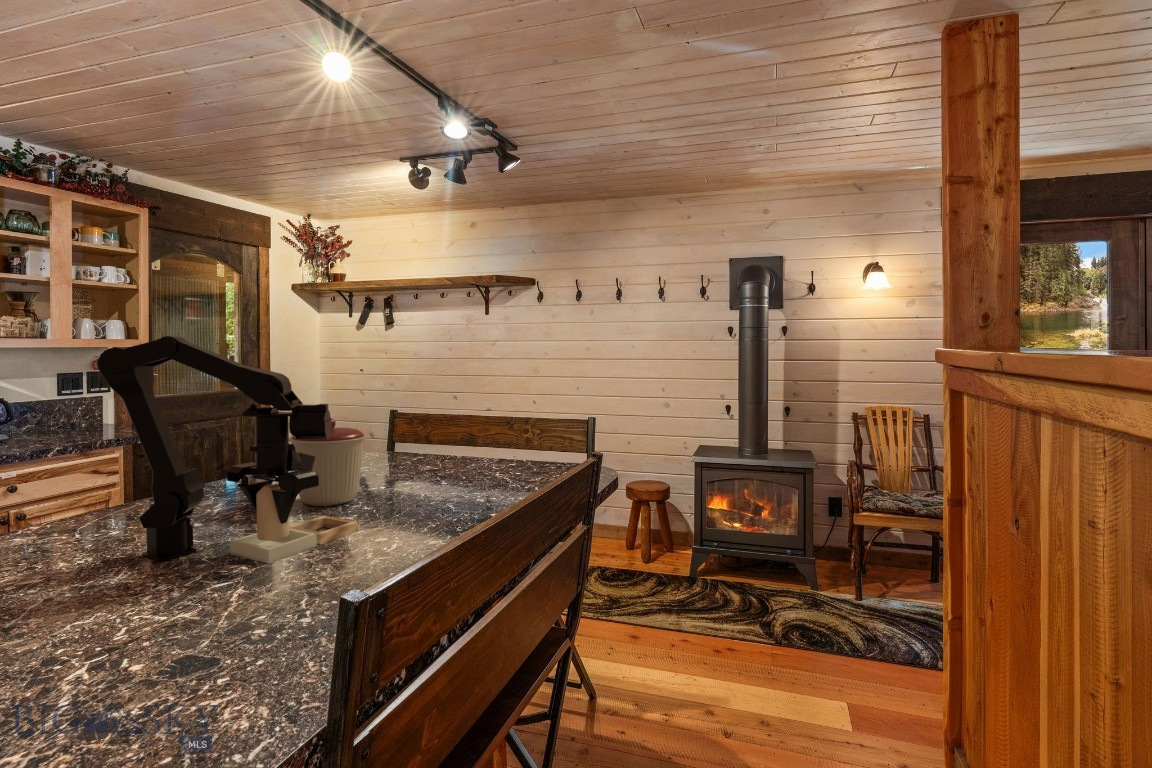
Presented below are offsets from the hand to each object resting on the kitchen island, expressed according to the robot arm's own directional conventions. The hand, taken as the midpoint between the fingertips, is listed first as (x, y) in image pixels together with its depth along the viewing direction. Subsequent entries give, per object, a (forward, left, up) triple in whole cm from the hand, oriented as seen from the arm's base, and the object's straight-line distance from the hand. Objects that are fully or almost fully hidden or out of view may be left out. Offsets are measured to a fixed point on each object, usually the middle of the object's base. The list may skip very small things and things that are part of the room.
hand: (273, 520), depth 118 cm
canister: (+32, +20, -6) cm, 38 cm away
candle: (0, 0, -3) cm, 3 cm away
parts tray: (0, 0, -6) cm, 6 cm away
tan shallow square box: (+12, 0, -6) cm, 13 cm away
